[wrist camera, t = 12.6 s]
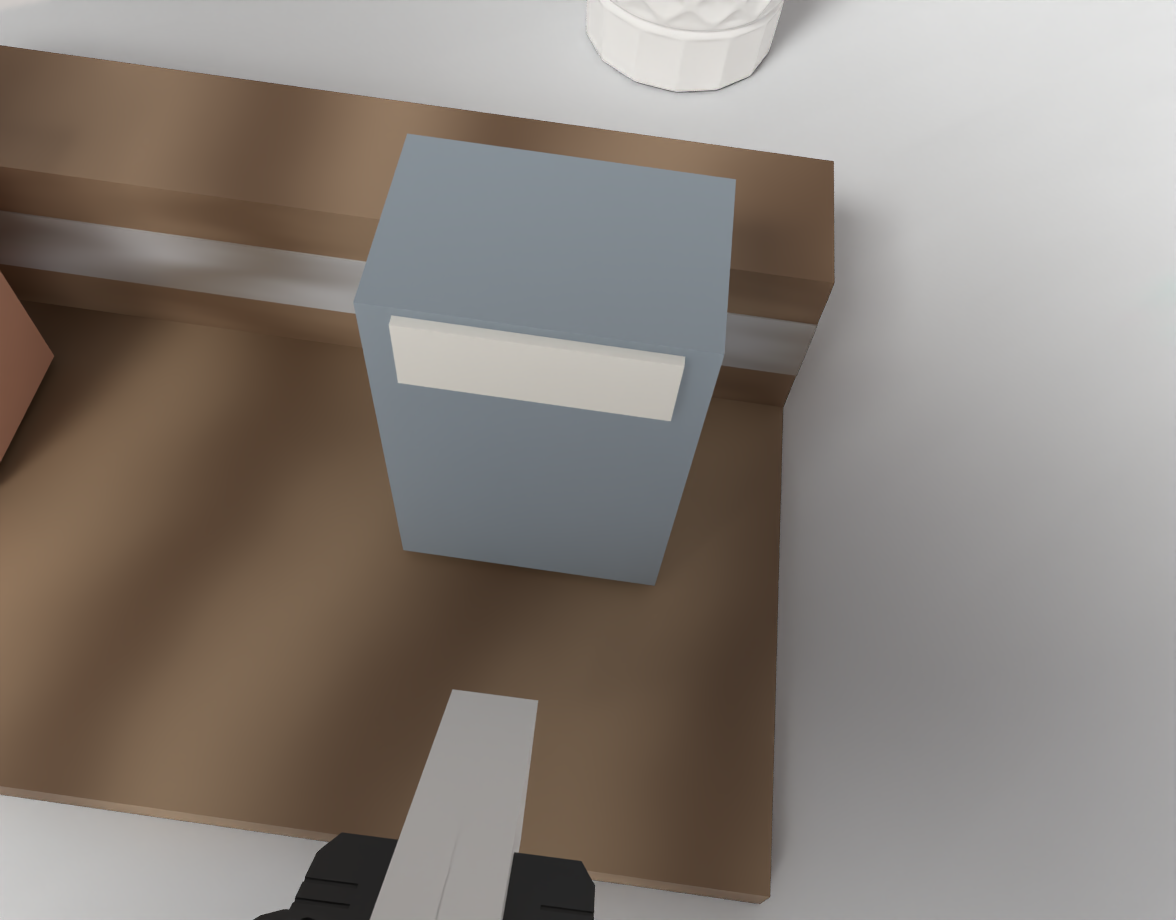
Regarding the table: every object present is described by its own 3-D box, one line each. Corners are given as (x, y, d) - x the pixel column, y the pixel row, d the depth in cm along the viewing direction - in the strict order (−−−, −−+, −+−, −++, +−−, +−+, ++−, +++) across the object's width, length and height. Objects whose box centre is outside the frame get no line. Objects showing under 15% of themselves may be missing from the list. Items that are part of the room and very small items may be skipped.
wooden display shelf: (-530, 718, 22) (-850, 608, 17) (-148, 186, 30) (-282, 5, 25) (759, 903, 22) (838, 851, 16) (778, 316, 30) (833, 161, 25)
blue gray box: (401, 557, 24) (350, 311, 16) (437, 411, 26) (407, 133, 18) (653, 593, 24) (724, 364, 16) (668, 444, 26) (735, 179, 18)
